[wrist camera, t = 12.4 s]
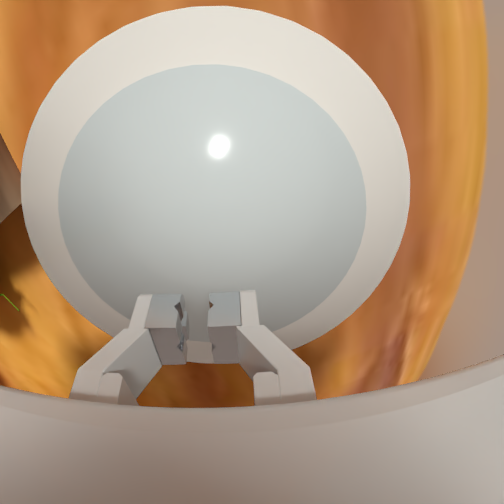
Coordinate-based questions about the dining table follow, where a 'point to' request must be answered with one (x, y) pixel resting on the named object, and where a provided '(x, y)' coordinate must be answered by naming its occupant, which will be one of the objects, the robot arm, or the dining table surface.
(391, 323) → the dining table surface
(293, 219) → the plate
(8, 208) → the walnut block
